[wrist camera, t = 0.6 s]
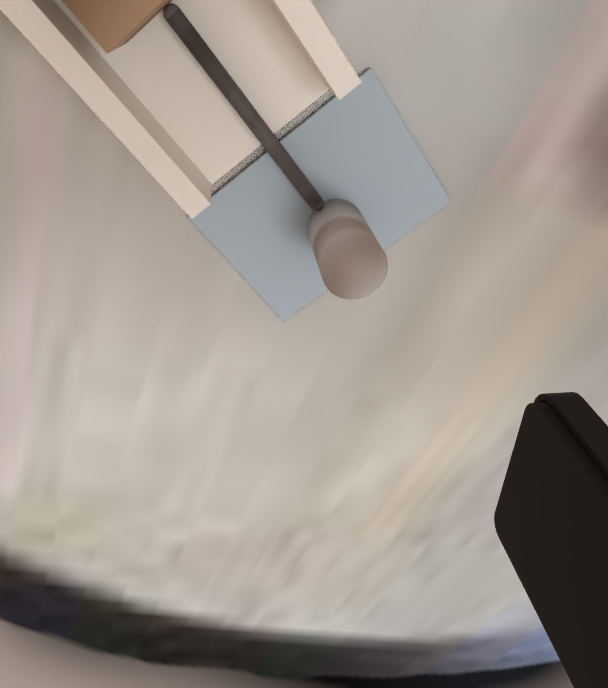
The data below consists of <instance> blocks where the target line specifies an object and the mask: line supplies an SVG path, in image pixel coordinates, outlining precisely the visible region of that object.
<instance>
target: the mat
mask: <svg viewBox="0 0 608 688" xmlns="http://www.w3.org/2000/svg"><path fill="white" fill-rule="evenodd" d="M359 79H360V80H361V82H362V83H360V84H359V85H358V86H357V87H355V88H354V89H353V90H352V91H350V92H349V93H348V94H347V95H345V96H344V97H343V98H342V99H340V100H339V99H338V98H337V97H336V96H334V97H333V98H332V99H331V100H329V101H328V102H327V103H326V104H325V105H323V106H322V107H321V108H320V109H318V110H317V111H316V112H315V113H313V114H312V115H311V116H310V117H308V118H307V119H306V120H305V121H304V122H302V123H301V124H300V125H299V126H297V127H296V128H295V129H294V130H292V131H291V132H290V133H289V134H287V135H286V136H285V137H284V138H283V139H281V140H280V143H281V144H282V145H283V147H284V148H285V149H286V151H287V152H288V153H289V155H290V156H291V157H292V159H293V160H294V161H295V163H296V164H297V165H298V167H299V168H300V169H301V171H302V172H303V173H304V175H305V176H306V177H307V179H308V180H309V181H310V183H311V184H312V185H313V187H314V188H315V189H316V191H317V192H318V193H319V195H320V196H321V197H322V199H323V202H326V201H329V200H334V199H341V200H346V201H349V202H351V203H352V204H354V205H355V206H356V207H357V208H358V209H359V210H360V212H361V214H362V215H363V217H364V219H365V220H366V222H367V224H368V225H369V227H370V229H371V231H372V232H373V234H374V236H375V237H376V239H377V241H378V242H379V244H380V246H381V247H382V249H383V250H385V249H386V248H387V247H389V246H390V245H392V244H393V243H395V242H396V241H397V240H399V239H400V238H402V237H403V236H404V235H406V234H407V233H409V232H410V231H411V230H413V229H414V228H416V227H417V226H418V225H420V224H421V223H423V222H424V221H425V220H427V219H428V218H430V217H431V216H432V215H434V214H435V213H437V212H438V211H439V210H441V209H442V208H444V207H445V206H446V205H448V204H449V203H451V202H452V201H451V199H450V198H449V196H448V194H447V193H446V191H445V189H444V188H443V186H442V184H441V183H440V181H439V180H438V178H437V176H436V175H435V173H434V171H433V170H432V168H431V166H430V165H429V163H428V161H427V160H426V158H425V156H424V155H423V153H422V152H421V150H420V148H419V147H418V145H417V143H416V142H415V140H414V138H413V137H412V135H411V133H410V132H409V130H408V128H407V127H406V125H405V124H404V122H403V120H402V119H401V117H400V115H399V114H398V112H397V110H396V109H395V107H394V105H393V104H392V102H391V101H390V99H389V97H388V96H387V94H386V92H385V91H384V89H383V87H382V86H381V84H380V82H379V81H378V79H377V77H376V76H375V74H374V73H373V71H372V69H371V68H369V69H368V70H367V71H365V72H364V73H363V74H362V75H360V76H359ZM313 211H314V210H312V209H311V208H310V207H309V205H308V204H307V203H306V202H305V200H304V199H303V198H302V196H301V195H300V194H299V192H298V191H297V190H296V189H295V187H294V186H293V185H292V183H291V182H290V181H289V179H288V178H287V177H286V176H285V174H284V173H283V172H282V170H281V169H280V168H279V166H278V165H277V164H276V163H275V161H274V160H273V159H272V157H271V156H270V155H269V153H268V152H267V151H266V152H265V153H264V154H263V155H262V156H260V157H259V158H258V159H257V160H255V161H254V162H253V163H252V164H250V165H249V166H248V167H247V168H245V169H244V170H243V171H242V172H241V173H239V174H238V175H237V176H236V177H234V178H233V179H232V180H231V181H229V182H228V183H227V184H226V185H225V186H223V187H222V188H221V189H220V190H218V191H217V192H216V193H215V194H213V195H212V196H211V204H210V205H209V206H208V207H206V208H205V209H204V210H203V211H201V212H200V213H199V214H198V215H196V216H195V217H194V218H193V219H191V218H190V217H189V216H188V218H189V219H190V220H191V222H192V223H193V224H194V225H195V226H196V227H197V228H198V229H199V230H200V231H201V232H202V234H203V235H204V236H205V237H206V238H207V239H208V240H209V241H210V242H211V243H212V244H213V246H214V247H215V248H216V249H217V250H218V251H219V252H220V253H221V254H222V255H223V256H224V258H225V259H226V260H227V261H228V262H229V263H230V264H231V265H232V266H233V267H234V268H235V270H236V271H237V272H238V273H239V274H240V275H241V276H242V277H243V278H244V279H245V280H246V282H247V283H248V284H249V285H250V286H251V287H252V288H253V289H254V290H255V291H256V292H257V294H258V295H259V296H260V297H261V298H262V299H263V300H264V301H265V302H266V303H267V304H268V306H269V307H270V308H271V309H272V310H273V311H274V312H275V313H276V314H277V315H278V316H279V318H280V319H281V320H282V321H283V322H284V321H285V320H286V319H288V318H289V317H291V316H292V315H293V314H295V313H296V312H298V311H299V310H300V309H302V308H303V307H305V306H306V305H307V304H309V303H310V302H312V301H313V300H314V299H316V298H317V297H319V296H320V295H321V294H323V293H324V292H326V291H327V290H328V289H327V287H326V286H325V284H324V282H323V279H322V276H321V273H320V270H319V267H318V264H317V261H316V258H315V255H314V252H313V249H312V246H311V243H310V239H309V236H308V232H307V225H308V221H309V218H310V216H311V214H312V213H313Z"/></svg>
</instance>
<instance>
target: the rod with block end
mask: <svg viewBox="0 0 608 688" xmlns="http://www.w3.org/2000/svg"><path fill="white" fill-rule="evenodd" d="M171 1H172V0H62V2H63V3H64V4H65V5H66V6H67V8H68V9H69V10H70V11H71V12H72V13H73V15H74V16H75V17H76V18H77V19H78V20H79V22H80V23H81V24H82V25H83V26H84V28H85V29H86V30H87V31H88V32H89V33H90V35H91V36H92V37H93V38H94V39H95V40H96V42H97V43H98V44H99V45H100V46H101V47H102V49H103V50H104V51H105V52H106V53H107V54H108V53H109V52H111V51H113V50H115V49H117V48H119V47H120V46H122V45H124V44H126V43H127V42H128V41H129V40H131V39H132V38H133V37H134V36H135V35H136V34H137V33H138V32H139V31H140V30H141V29H142V28H143V27H144V26H145V25H147V24H148V23H149V22H150V21H151V20H152V19H153V18H154V17H155V16H156V15H157V14H158V13H159V12H160V11H161V10H162V9H164V10H163V15H164V18H165V20H166V21H167V22H168V24H169V25H170V26H171V27H172V29H173V30H174V31H175V33H176V34H177V35H178V37H179V38H180V39H181V40H182V42H183V43H184V44H185V46H186V47H187V48H188V50H189V51H190V52H191V53H192V55H193V56H194V57H195V59H196V60H197V61H198V63H199V64H200V65H201V66H202V68H203V69H204V70H205V72H206V73H207V74H208V76H209V77H210V78H211V79H212V81H213V82H214V83H215V85H216V86H217V87H218V89H219V90H220V91H221V92H222V94H223V95H224V96H225V98H226V99H227V100H228V102H229V103H230V104H231V105H232V107H233V108H234V109H235V111H236V112H237V113H238V115H239V116H240V117H241V118H242V120H243V121H244V122H245V124H246V125H247V126H248V127H249V129H250V130H251V131H252V133H253V134H254V135H255V137H256V138H257V139H258V140H259V142H260V143H261V144H262V146H263V147H264V148H265V150H266V151H267V152H268V153H269V155H270V156H271V157H272V159H273V160H274V161H275V163H276V164H277V165H278V166H279V168H280V169H281V170H282V172H283V173H284V174H285V176H286V177H287V178H288V179H289V181H290V182H291V183H292V185H293V186H294V187H295V189H296V190H297V191H298V192H299V194H300V195H301V196H302V198H303V199H304V200H305V202H306V203H307V204H308V205H309V207H310V208H311V209H312V210H314V211H313V213H312V214H311V216H310V218H309V221H308V225H307V232H308V236H309V239H310V243H311V246H312V249H313V252H314V255H315V258H316V261H317V264H318V267H319V270H320V273H321V276H322V279H323V282H324V284H325V286H326V287H327V289H328V290H329V291H330V292H332V293H333V294H334V295H336V296H338V297H341V298H345V299H357V298H362V297H365V296H367V295H369V294H371V293H372V292H373V291H375V290H376V289H377V288H378V287H379V286H380V285H381V283H382V282H383V280H384V278H385V276H386V273H387V266H388V263H387V258H386V255H385V252H384V251H383V249H382V247H381V246H380V244H379V242H378V241H377V239H376V237H375V236H374V234H373V232H372V231H371V229H370V227H369V225H368V224H367V222H366V220H365V219H364V217H363V215H362V214H361V212H360V210H359V209H358V208H357V207H356V206H355V205H354V204H352V203H351V202H349V201H346V200H341V199H334V200H329V201H326V202H323V199H322V197H321V196H320V195H319V193H318V192H317V191H316V189H315V188H314V187H313V185H312V184H311V183H310V181H309V180H308V179H307V177H306V176H305V175H304V173H303V172H302V171H301V169H300V168H299V167H298V165H297V164H296V163H295V161H294V160H293V159H292V157H291V156H290V155H289V153H288V152H287V151H286V149H285V148H284V147H283V145H282V144H281V143H280V141H279V140H278V139H277V137H276V136H275V135H274V133H273V132H272V131H271V129H270V128H269V127H268V125H267V124H266V123H265V121H264V120H263V119H262V117H261V116H260V115H259V113H258V112H257V111H256V109H255V108H254V107H253V105H252V104H251V103H250V101H249V100H248V99H247V97H246V96H245V95H244V93H243V92H242V91H241V89H240V88H239V87H238V85H237V84H236V83H235V81H234V80H233V79H232V77H231V76H230V75H229V73H228V72H227V71H226V69H225V68H224V67H223V65H222V64H221V63H220V61H219V60H218V59H217V57H216V56H215V55H214V53H213V52H212V51H211V49H210V48H209V47H208V45H207V44H206V42H205V41H204V40H203V38H202V37H201V36H200V34H199V33H198V32H197V30H196V29H195V28H194V26H193V25H192V24H191V22H190V21H189V20H188V18H187V17H186V16H185V14H184V13H183V12H182V10H181V9H180V8H179V7H178V6H177V5H176V4H173V3H170V2H171ZM169 3H170V4H169Z"/></svg>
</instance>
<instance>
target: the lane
mask: <svg viewBox="0 0 608 688" xmlns="http://www.w3.org/2000/svg"><path fill="white" fill-rule="evenodd" d="M170 3H173V4H176V5H177V6H178V7H179V8H180V9H181V10H182V12H183V13H184V14H185V16H186V17H187V18H188V20H189V21H190V22H191V24H192V25H193V26H194V28H195V29H196V30H197V32H198V33H199V34H200V36H201V37H202V38H203V40H204V41H205V42H206V44H207V45H208V47H209V48H210V49H211V51H212V52H213V53H214V55H215V56H216V57H217V59H218V60H219V61H220V63H221V64H222V65H223V67H224V68H225V69H226V71H227V72H228V73H229V75H230V76H231V77H232V79H233V80H234V81H235V83H236V84H237V85H238V87H239V88H240V89H241V91H242V92H243V93H244V95H245V96H246V97H247V99H248V100H249V101H250V103H251V104H252V105H253V107H254V108H255V109H256V111H257V112H258V113H259V115H260V116H261V117H262V119H263V120H264V121H265V123H266V124H267V125H268V127H269V128H270V129H271V131H272V132H273V133H274V134H275V133H276V132H277V131H279V130H280V129H281V128H282V127H283V126H285V125H286V124H287V123H288V122H290V121H291V120H292V119H293V118H294V117H296V116H297V115H298V114H299V113H301V112H302V111H303V110H304V109H306V108H307V107H308V106H309V105H310V104H312V103H313V102H314V101H315V100H317V99H318V98H319V97H320V96H321V95H323V94H324V93H325V92H326V91H328V90H330V91H331V92H332V93H333V94H334V95H335V96H336V97H337V98H338V99H339V100H340V99H342V98H343V97H344V96H345V95H347V94H348V93H349V92H350V91H352V90H353V89H354V88H355V87H357V86H358V85H359V84H360V83H362V82H361V80H360V79H359V77H358V76H357V74H356V72H355V71H354V69H353V68H352V66H351V64H350V63H349V61H348V60H347V58H346V56H345V55H344V53H343V52H342V50H341V48H340V47H339V45H338V44H337V42H336V40H335V39H334V37H333V36H332V34H331V32H330V31H329V29H328V28H327V26H326V24H325V23H324V21H323V20H322V18H321V16H320V15H319V13H318V12H317V10H316V8H315V7H314V5H313V4H312V2H311V0H172V1H171V2H170ZM170 3H169V4H170ZM0 10H1V11H2V12H3V13H4V14H5V15H6V16H7V18H8V19H9V20H10V21H11V22H12V23H13V24H14V25H15V26H16V27H17V28H18V30H19V31H20V32H21V33H22V34H23V35H24V36H25V37H26V38H27V39H28V41H29V42H30V43H31V44H32V45H33V46H34V47H35V48H36V49H37V50H38V51H39V53H40V54H41V55H42V56H43V57H44V58H45V59H46V60H47V61H48V62H49V63H50V65H51V66H52V67H53V68H54V69H55V70H56V71H57V72H58V73H59V74H60V76H61V77H62V78H63V79H64V80H65V81H66V82H67V83H68V84H69V85H70V86H71V88H72V89H73V90H74V91H75V92H76V93H77V94H78V95H79V96H80V97H81V99H82V100H83V101H84V102H85V103H86V104H87V105H88V106H89V107H90V108H91V109H92V111H93V112H94V113H95V114H96V115H97V116H98V117H99V118H100V119H101V120H102V121H103V123H104V124H105V125H106V126H107V127H108V128H109V129H110V130H111V131H112V132H113V134H114V135H115V136H116V137H117V138H118V139H119V140H120V141H121V142H122V143H123V144H124V146H125V147H126V148H127V149H128V150H129V151H130V152H131V153H132V154H133V155H134V156H135V158H136V159H137V160H138V161H139V162H140V163H141V164H142V165H143V166H144V167H145V169H146V170H147V171H148V172H149V173H150V174H151V175H152V176H153V177H154V178H155V179H156V181H157V182H158V183H159V184H160V185H161V186H162V187H163V188H164V189H165V190H166V192H167V193H168V194H169V195H170V196H171V197H172V198H173V199H174V200H175V201H176V202H177V204H178V205H179V206H180V207H181V208H182V209H183V210H184V211H185V212H186V213H187V214H188V216H189V217H190V218H191V219H193V218H194V217H195V216H196V215H198V214H199V213H200V212H201V211H203V210H204V209H205V208H206V207H208V206H209V205H210V204H211V193H212V184H214V183H215V182H216V181H217V180H218V179H220V178H221V177H222V176H223V175H225V174H226V173H227V172H228V171H230V170H231V169H232V168H233V167H234V166H236V165H237V164H238V163H239V162H241V161H242V160H243V159H244V158H245V157H247V156H248V155H249V154H250V153H252V152H253V151H254V150H255V149H256V148H258V147H259V146H260V145H261V143H260V142H259V140H258V139H257V138H256V137H255V135H254V134H253V133H252V131H251V130H250V129H249V127H248V126H247V125H246V124H245V122H244V121H243V120H242V118H241V117H240V116H239V115H238V113H237V112H236V111H235V109H234V108H233V107H232V105H231V104H230V103H229V102H228V100H227V99H226V98H225V96H224V95H223V94H222V92H221V91H220V90H219V89H218V87H217V86H216V85H215V83H214V82H213V81H212V79H211V78H210V77H209V76H208V74H207V73H206V72H205V70H204V69H203V68H202V66H201V65H200V64H199V63H198V61H197V60H196V59H195V57H194V56H193V55H192V53H191V52H190V51H189V50H188V48H187V47H186V46H185V44H184V43H183V42H182V40H181V39H180V38H179V37H178V35H177V34H176V33H175V31H174V30H173V29H172V27H171V26H170V25H169V24H168V22H167V21H166V20H165V18H164V15H163V10H164V9H162V10H161V11H160V12H159V13H158V14H157V15H156V16H155V17H154V18H153V19H152V20H151V21H150V22H149V23H148V24H147V25H145V26H144V27H143V28H142V29H141V30H140V31H139V32H138V33H137V34H136V35H135V36H134V37H133V38H132V39H131V40H129V41H128V42H127V43H126V44H124V45H122V46H120V47H119V48H117V49H115V50H113V51H111V52H109V53H108V54H107V53H106V52H105V51H104V50H103V49H102V47H101V46H100V45H99V44H98V43H97V42H96V40H95V39H94V38H93V37H92V36H91V35H90V33H89V32H88V31H87V30H86V29H85V28H84V26H83V25H82V24H81V23H80V22H79V20H78V19H77V18H76V17H75V16H74V15H73V13H72V12H71V11H70V10H69V9H68V8H67V6H66V5H65V4H64V3H63V2H62V0H0Z"/></svg>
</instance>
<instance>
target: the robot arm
mask: <svg viewBox="0 0 608 688" xmlns="http://www.w3.org/2000/svg"><path fill="white" fill-rule="evenodd" d="M494 522H495V528H496V532H497V534H498V537H499V539H500V541H501V543H502V545H503V547H504V549H505V551H506V553H507V555H508V557H509V559H510V561H511V563H512V565H513V567H514V569H515V571H516V573H517V575H518V577H519V579H520V581H521V583H522V585H523V587H524V589H525V591H526V593H527V595H528V597H529V599H530V601H531V603H532V605H533V607H534V609H535V611H536V613H537V615H538V617H539V619H540V621H541V623H542V625H543V627H544V629H545V631H546V633H547V635H548V637H549V639H550V641H551V643H552V645H553V647H554V649H555V651H556V653H557V655H558V657H559V659H560V661H561V663H562V664H563V666H564V669H565V671H566V673H567V674H568V676H569V678H570V681H571V683H572V685H573V687H574V688H608V426H607V425H606V424H605V423H604V422H603V420H602V419H601V418H600V417H599V416H598V415H597V414H596V412H595V411H594V410H593V409H592V408H591V407H590V406H589V404H588V403H587V402H586V401H585V400H584V399H583V398H582V397H581V396H580V395H579V394H578V393H574V392H566V393H548V394H541V395H538V396H537V398H536V399H535V401H534V403H530V404H528V405H527V406H526V409H525V411H524V415H523V418H522V421H521V425H520V428H519V432H518V435H517V439H516V442H515V445H514V449H513V452H512V456H511V459H510V463H509V466H508V469H507V473H506V476H505V480H504V483H503V487H502V490H501V494H500V497H499V500H498V504H497V507H496V511H495V516H494Z"/></svg>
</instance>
